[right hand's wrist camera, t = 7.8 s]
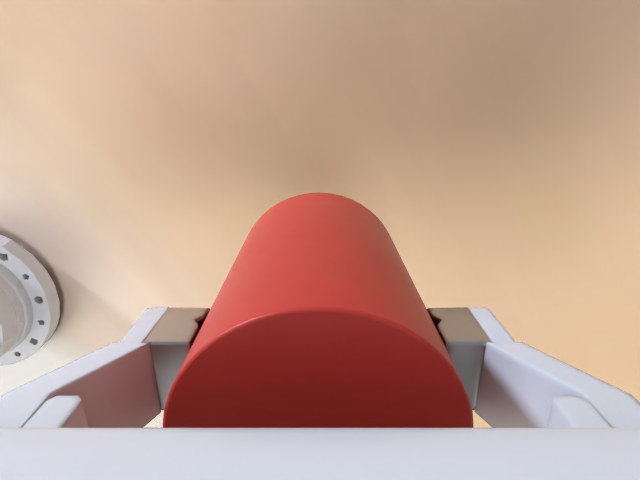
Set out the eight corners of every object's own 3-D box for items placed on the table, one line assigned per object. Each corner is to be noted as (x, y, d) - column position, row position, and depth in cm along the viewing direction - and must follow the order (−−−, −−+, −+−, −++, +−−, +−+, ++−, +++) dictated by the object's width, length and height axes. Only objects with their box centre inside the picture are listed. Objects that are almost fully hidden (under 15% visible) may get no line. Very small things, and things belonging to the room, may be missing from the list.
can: (210, 253, 14) (94, 420, 7) (335, 159, 13) (357, 240, 6) (304, 357, 15) (292, 584, 8) (424, 281, 14) (529, 468, 7)
